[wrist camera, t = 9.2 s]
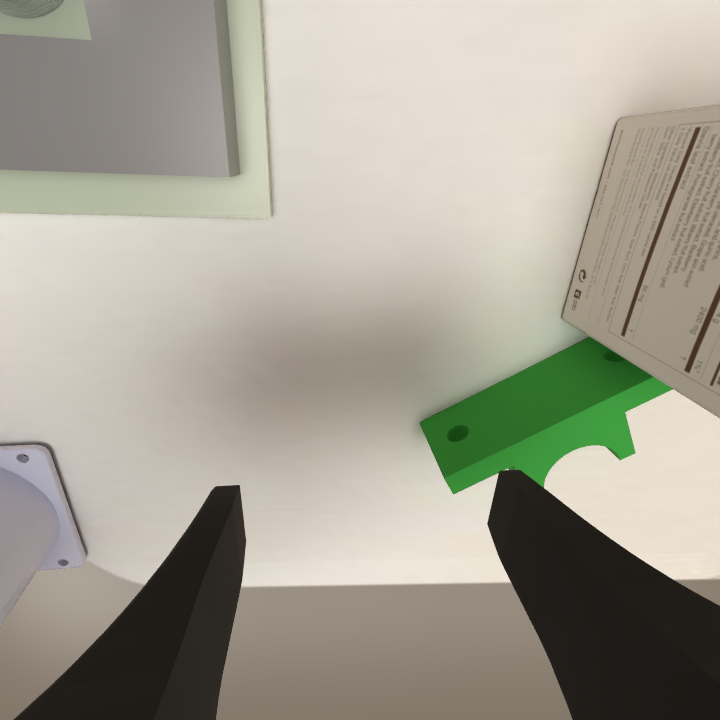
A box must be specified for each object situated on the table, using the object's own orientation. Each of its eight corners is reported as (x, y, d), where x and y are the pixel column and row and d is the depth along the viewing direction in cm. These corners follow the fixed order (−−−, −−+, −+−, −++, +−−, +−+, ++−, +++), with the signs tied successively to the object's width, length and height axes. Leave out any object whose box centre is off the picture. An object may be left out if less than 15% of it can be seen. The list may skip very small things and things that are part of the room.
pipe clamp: (444, 466, 24) (472, 529, 20) (418, 419, 22) (442, 478, 18) (630, 377, 23) (700, 425, 19) (616, 321, 21) (691, 360, 17)
